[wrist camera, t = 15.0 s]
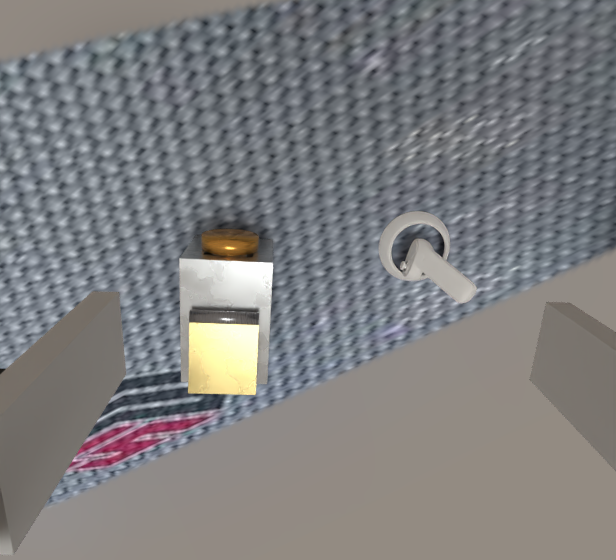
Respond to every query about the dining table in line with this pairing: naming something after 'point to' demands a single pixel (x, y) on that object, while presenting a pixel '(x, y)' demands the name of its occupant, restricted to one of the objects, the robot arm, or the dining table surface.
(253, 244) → the pin
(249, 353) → the plate
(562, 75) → the dining table surface
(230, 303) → the block
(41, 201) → the dining table surface
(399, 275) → the grey ring with handle
